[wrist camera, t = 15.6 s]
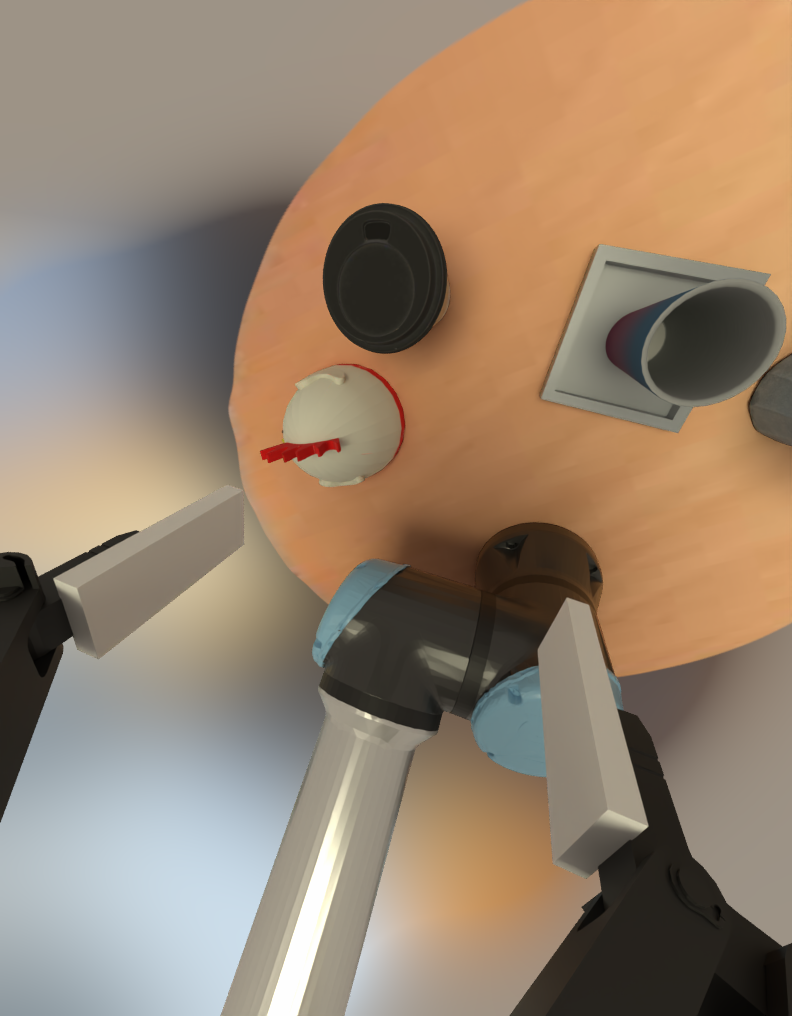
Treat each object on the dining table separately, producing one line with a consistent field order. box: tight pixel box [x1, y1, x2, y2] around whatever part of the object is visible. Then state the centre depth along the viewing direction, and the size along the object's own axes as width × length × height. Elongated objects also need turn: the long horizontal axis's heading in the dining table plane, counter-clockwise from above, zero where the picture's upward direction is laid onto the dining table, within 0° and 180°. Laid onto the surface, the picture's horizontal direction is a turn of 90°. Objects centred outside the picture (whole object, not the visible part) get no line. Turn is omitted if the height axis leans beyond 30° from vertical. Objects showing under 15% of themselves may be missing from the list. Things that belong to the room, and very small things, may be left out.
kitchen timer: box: [260, 364, 405, 487], centre depth 40 cm, size 14×14×15 cm
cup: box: [605, 278, 786, 407], centre depth 28 cm, size 7×7×15 cm
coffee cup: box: [323, 203, 450, 354], centre depth 32 cm, size 9×9×15 cm
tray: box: [540, 244, 771, 433], centre depth 34 cm, size 13×13×2 cm
